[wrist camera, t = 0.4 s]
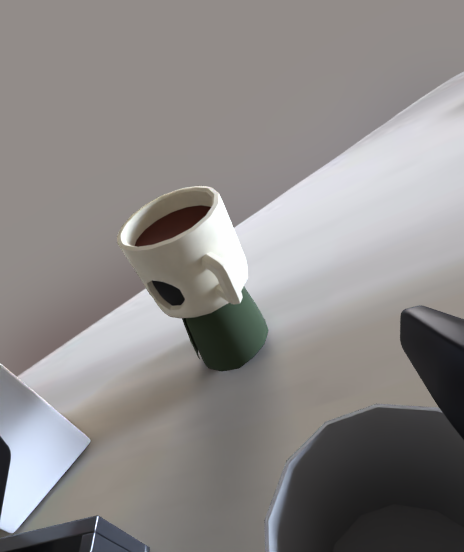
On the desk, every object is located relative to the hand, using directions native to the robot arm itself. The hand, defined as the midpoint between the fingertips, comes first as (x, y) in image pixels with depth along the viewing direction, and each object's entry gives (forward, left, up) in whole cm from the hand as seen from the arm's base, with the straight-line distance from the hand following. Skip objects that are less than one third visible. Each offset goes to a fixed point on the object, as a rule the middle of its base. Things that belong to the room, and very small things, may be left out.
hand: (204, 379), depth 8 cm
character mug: (+16, +4, -17) cm, 23 cm away
